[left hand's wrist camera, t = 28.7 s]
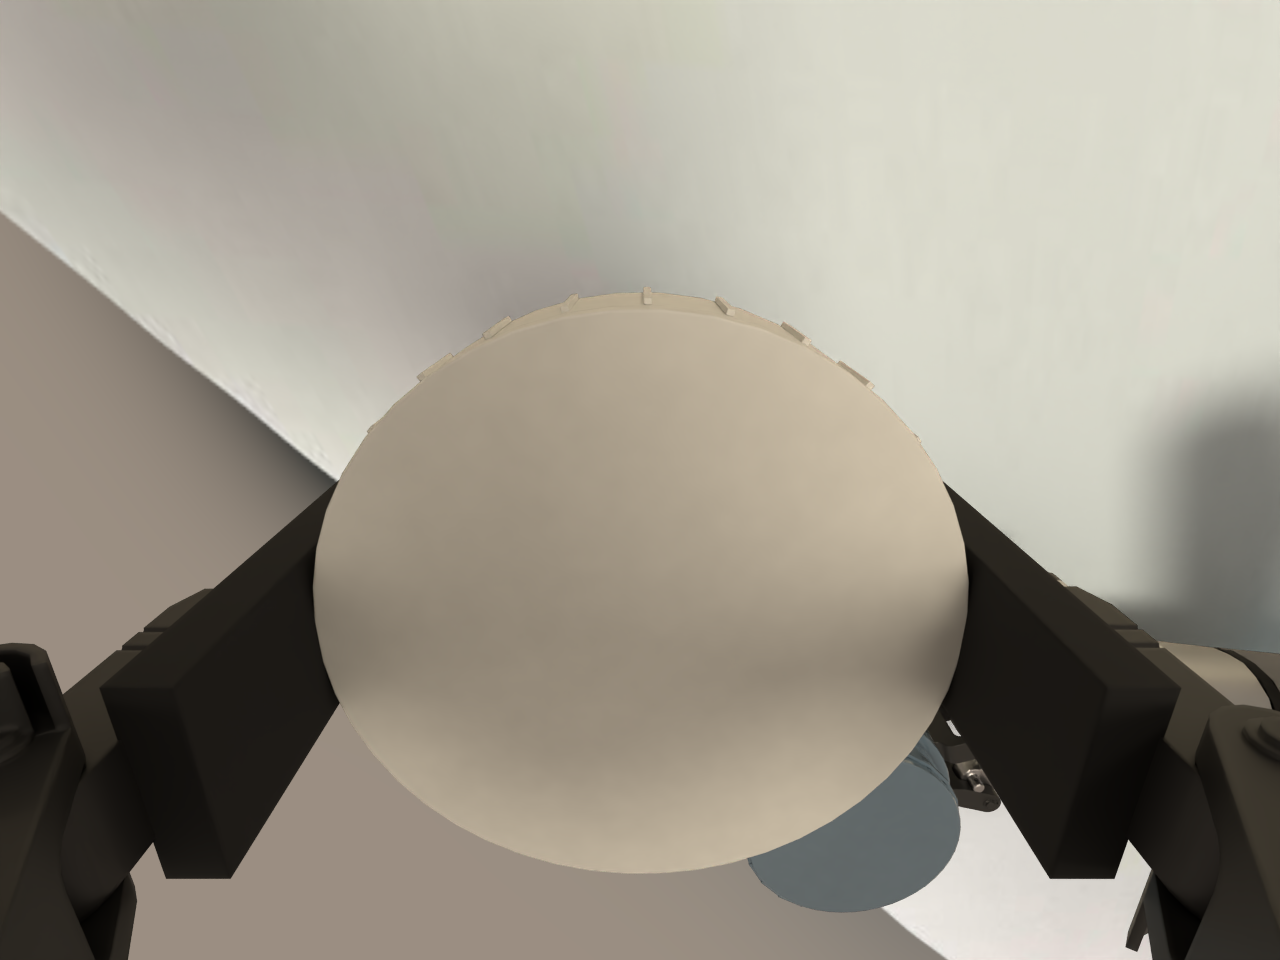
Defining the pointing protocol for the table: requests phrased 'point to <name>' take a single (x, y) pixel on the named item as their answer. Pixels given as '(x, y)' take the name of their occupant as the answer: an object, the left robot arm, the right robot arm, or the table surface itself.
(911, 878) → the jar
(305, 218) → the table surface
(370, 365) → the table surface
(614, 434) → the lid
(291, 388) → the table surface
